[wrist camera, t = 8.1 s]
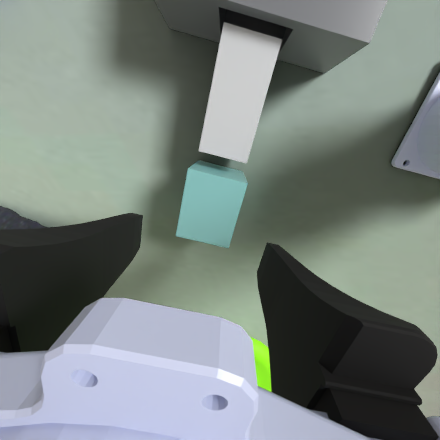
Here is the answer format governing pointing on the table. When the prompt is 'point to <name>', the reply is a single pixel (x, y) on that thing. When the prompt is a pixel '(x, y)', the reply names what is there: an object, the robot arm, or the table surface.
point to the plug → (227, 134)
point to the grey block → (285, 25)
